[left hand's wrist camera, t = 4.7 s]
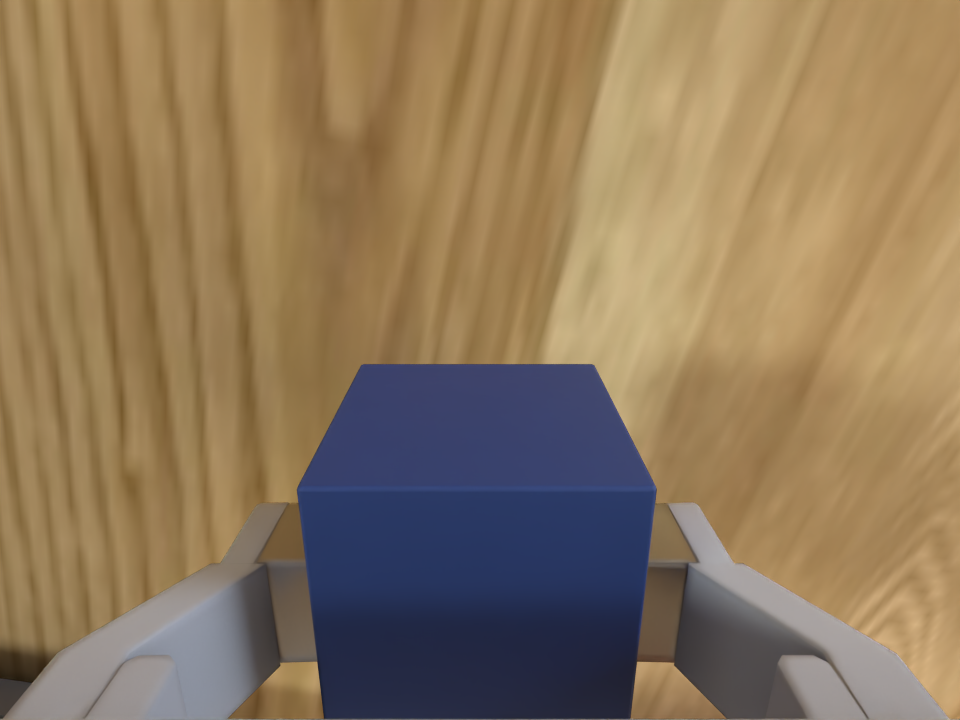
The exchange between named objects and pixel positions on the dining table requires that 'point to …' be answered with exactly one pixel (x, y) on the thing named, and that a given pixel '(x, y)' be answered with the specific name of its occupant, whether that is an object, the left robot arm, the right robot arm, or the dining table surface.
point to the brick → (477, 545)
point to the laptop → (10, 694)
